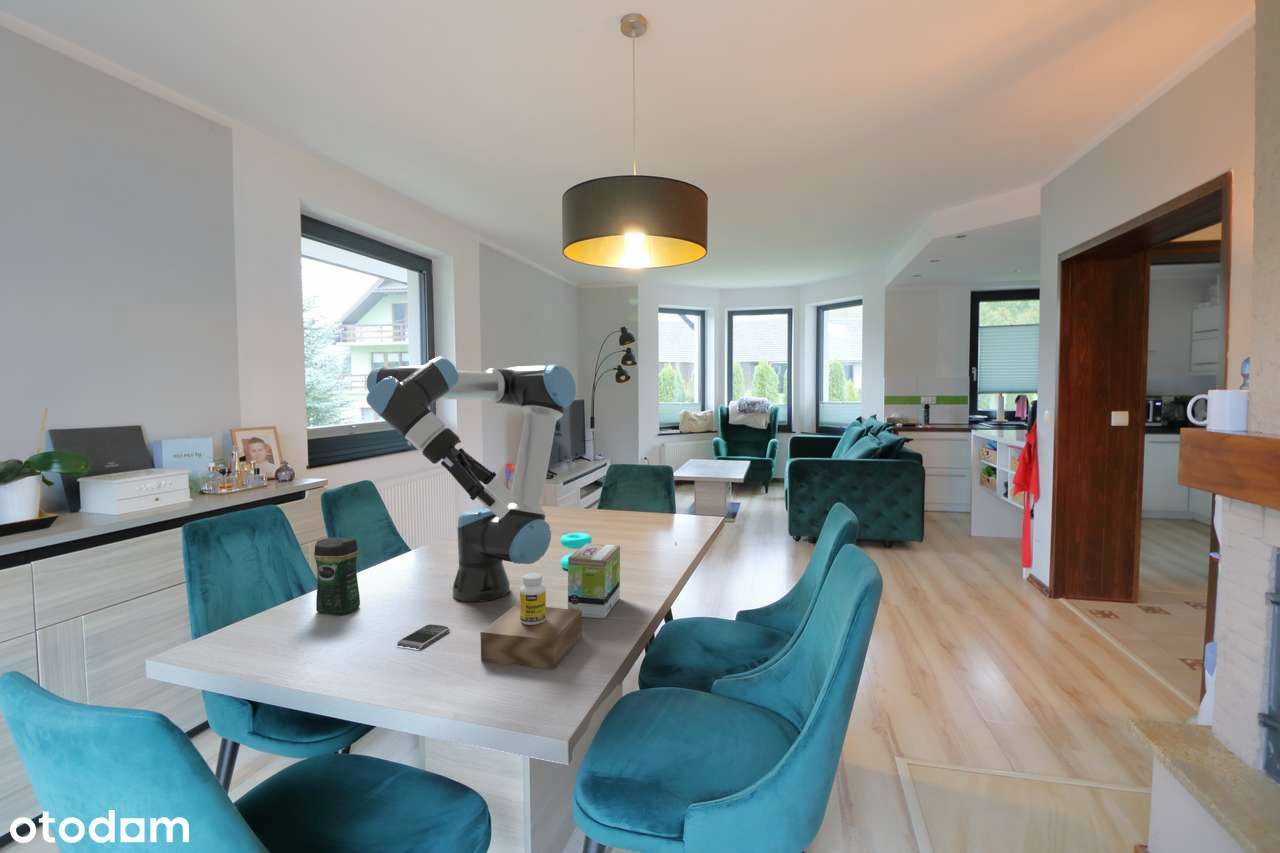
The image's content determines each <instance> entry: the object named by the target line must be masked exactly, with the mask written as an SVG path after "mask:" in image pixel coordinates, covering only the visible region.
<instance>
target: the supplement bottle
mask: <svg viewBox="0 0 1280 853" xmlns="http://www.w3.org/2000/svg"><path fill="white" fill-rule="evenodd" d="M522 583H523V584H522V586H520V589H519V605H520V621H521V622H522V623H523V624H526V625H536V624H540V623H542V622H544V621H545V619H546V605H547V603H546V602H547V600H546V599H547V597H546V593H547V592H546V591H547V590H546V586H545V585H544V584H543V575H542V573H539V572H538V573H537V572H531V573H526V574H524V575H523V576H522Z"/></svg>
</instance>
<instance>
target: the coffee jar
mask: <svg viewBox="0 0 1280 853" xmlns="http://www.w3.org/2000/svg"><path fill="white" fill-rule="evenodd" d="M313 554H314V555H313V556H314V560H315V563H316V571H317V574H316V576H317V578H316V580H317V582H316V583H317V584H316V603H315V604H316V608H315V609H316V612H317V613H318V614H322V615H334V616H335V615H344V614H348V613H352V612H355V611H356V610H357V609H358V608H359V607H360V605H361V598H360V590H359V584H358V574H357V557H358V554H359V548H358V542H357V540H356V539H355V538H351V537H350V538H348V537H347V538H346V537H325V538H322V539H319V540H317V541H316V543H315V545H314V553H313Z"/></svg>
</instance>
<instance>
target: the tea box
mask: <svg viewBox="0 0 1280 853" xmlns="http://www.w3.org/2000/svg"><path fill="white" fill-rule="evenodd" d="M571 554H572V555H571V556H570V557H569V558H568V569H567V570H568V573H567V575H568V576H567V609H573V610H582V618H591V619H605V618H606V617H607V616H608V614H609V613H610V612H611V610H612V608H613V607H614V606H615V605H616V603H617V602H618V600H619V599H620V595H621V591H620V588H621V584H620V583H621V579H620V578H621V576H620V575H621V574H620V573H621V545H616V544H615V545H614V544H602V543H601V544H599V543H591V544H585V545H584V546H582V547H581V548H580V549H576V550H575V552H573V553H571Z"/></svg>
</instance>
